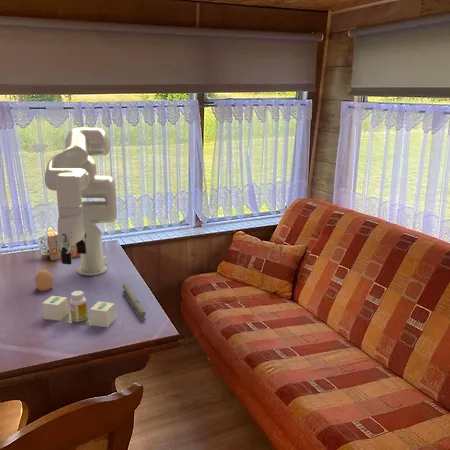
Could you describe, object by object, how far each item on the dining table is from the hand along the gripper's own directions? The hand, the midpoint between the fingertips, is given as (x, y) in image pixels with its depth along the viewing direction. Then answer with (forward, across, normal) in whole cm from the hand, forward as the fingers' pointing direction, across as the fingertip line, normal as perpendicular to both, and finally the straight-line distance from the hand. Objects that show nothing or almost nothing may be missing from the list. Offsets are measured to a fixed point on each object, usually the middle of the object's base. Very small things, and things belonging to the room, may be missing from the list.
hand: (74, 258), depth 158 cm
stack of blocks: (+24, -56, -34) cm, 70 cm away
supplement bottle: (+22, +3, +2) cm, 22 cm away
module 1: (+22, +3, -7) cm, 23 cm away
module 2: (+21, +3, +11) cm, 24 cm away
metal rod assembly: (+23, -12, +16) cm, 30 cm away
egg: (+23, -16, -24) cm, 37 cm away
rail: (+23, +3, +2) cm, 23 cm away
